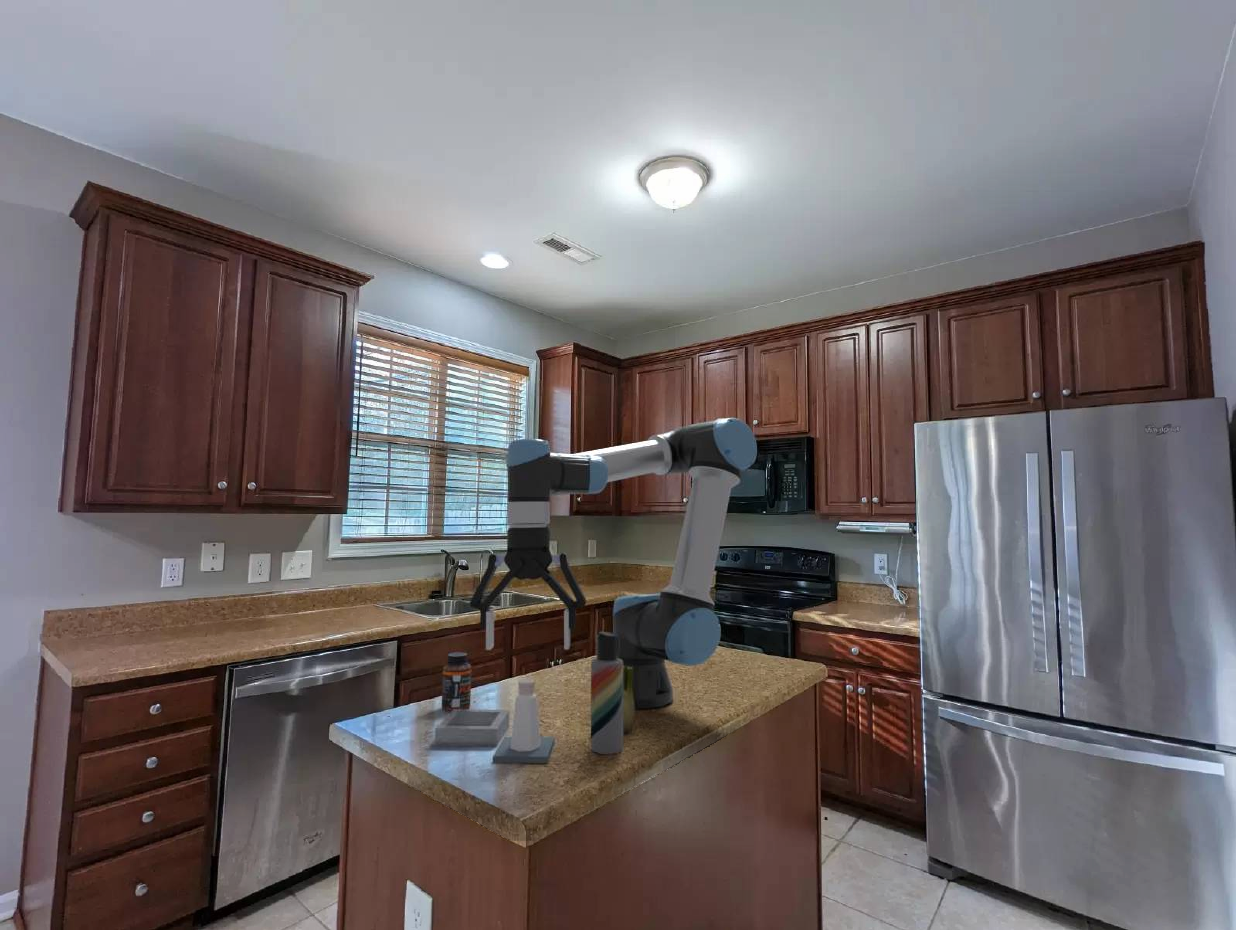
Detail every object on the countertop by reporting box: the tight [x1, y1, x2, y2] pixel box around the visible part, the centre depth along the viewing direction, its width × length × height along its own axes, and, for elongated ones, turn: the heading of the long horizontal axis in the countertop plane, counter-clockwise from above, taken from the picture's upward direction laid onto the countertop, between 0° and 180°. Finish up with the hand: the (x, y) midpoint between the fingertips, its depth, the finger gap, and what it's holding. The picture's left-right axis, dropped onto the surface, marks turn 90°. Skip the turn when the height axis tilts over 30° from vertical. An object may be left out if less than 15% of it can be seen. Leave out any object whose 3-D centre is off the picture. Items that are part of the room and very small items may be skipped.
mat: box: [492, 736, 555, 764], centre depth 104 cm, size 9×9×1 cm
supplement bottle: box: [441, 651, 472, 713], centre depth 129 cm, size 6×6×11 cm
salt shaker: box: [510, 678, 541, 752], centre depth 104 cm, size 5×5×11 cm
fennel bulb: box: [623, 666, 636, 735], centre depth 115 cm, size 6×5×12 cm
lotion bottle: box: [590, 631, 624, 755], centre depth 106 cm, size 6×6×20 cm
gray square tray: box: [434, 708, 510, 748], centre depth 112 cm, size 11×11×3 cm
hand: (528, 648), depth 106 cm, fingers open, 13 cm apart
